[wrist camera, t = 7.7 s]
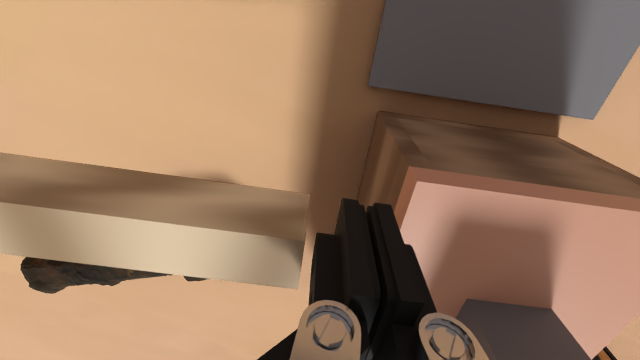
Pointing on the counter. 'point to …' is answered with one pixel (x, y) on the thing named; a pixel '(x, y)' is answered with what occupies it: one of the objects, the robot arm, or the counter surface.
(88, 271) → the black rough elongated piece
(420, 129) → the toolbox
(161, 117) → the counter surface
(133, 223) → the rectangular bar
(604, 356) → the ammunition clip
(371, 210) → the robot arm
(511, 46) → the mat
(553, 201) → the lid
